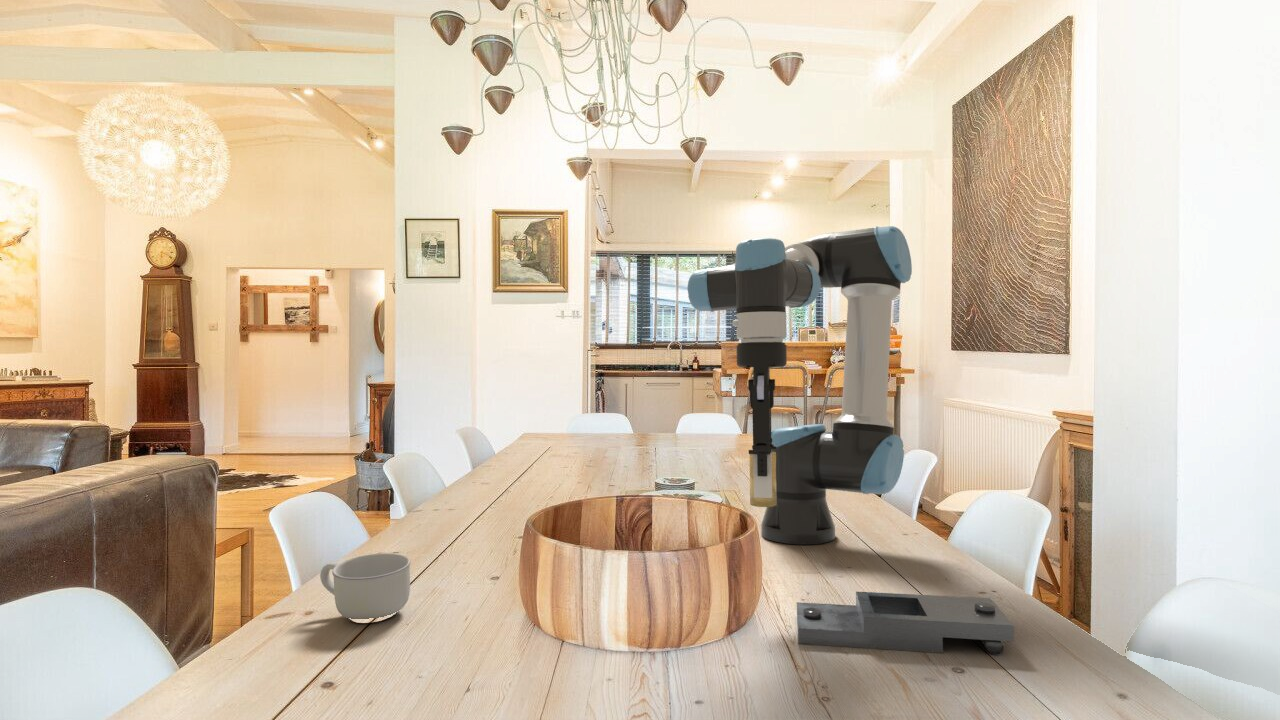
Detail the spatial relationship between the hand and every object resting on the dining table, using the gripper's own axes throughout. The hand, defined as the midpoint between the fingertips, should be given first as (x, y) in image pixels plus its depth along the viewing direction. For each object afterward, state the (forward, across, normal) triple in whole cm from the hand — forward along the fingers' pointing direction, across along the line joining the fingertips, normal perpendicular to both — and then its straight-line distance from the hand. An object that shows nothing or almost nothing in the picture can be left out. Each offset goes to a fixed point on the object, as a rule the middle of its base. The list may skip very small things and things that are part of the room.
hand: (763, 494), depth 107 cm
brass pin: (+2, 0, 0) cm, 2 cm away
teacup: (+17, +15, -58) cm, 62 cm away
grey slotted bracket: (+17, +10, +18) cm, 26 cm away
